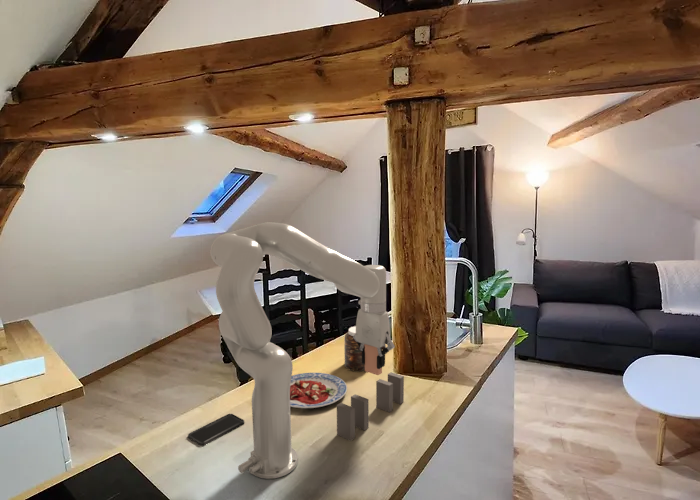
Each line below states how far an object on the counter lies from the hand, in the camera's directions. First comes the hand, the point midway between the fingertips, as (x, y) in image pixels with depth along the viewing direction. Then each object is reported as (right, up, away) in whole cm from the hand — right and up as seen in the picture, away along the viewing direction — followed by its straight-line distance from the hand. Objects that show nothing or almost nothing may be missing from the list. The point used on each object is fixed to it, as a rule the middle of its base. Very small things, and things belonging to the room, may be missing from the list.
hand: (373, 364), depth 129 cm
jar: (-3, -12, +41) cm, 43 cm away
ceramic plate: (-21, -15, +18) cm, 32 cm away
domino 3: (+4, -16, +8) cm, 19 cm away
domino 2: (-4, -18, -2) cm, 18 cm away
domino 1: (-8, -19, -7) cm, 22 cm away
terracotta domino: (0, -2, 0) cm, 3 cm away
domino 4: (+8, -16, +13) cm, 22 cm away
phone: (-46, -19, -3) cm, 50 cm away
